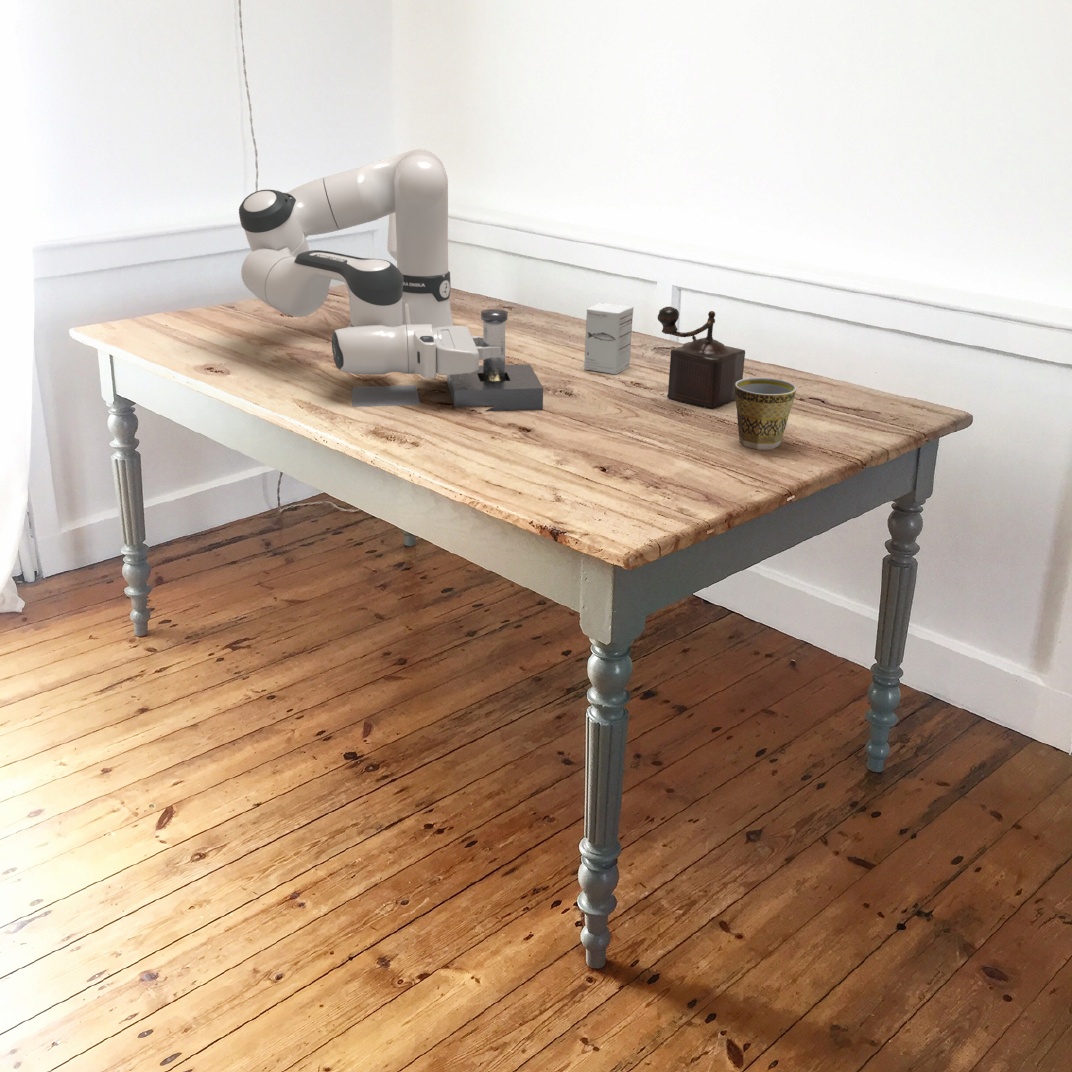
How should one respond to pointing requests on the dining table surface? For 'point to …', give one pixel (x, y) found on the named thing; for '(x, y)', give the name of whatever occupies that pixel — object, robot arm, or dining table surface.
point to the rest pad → (384, 396)
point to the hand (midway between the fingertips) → (498, 347)
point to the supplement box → (608, 338)
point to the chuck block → (498, 390)
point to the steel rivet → (494, 343)
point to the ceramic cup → (763, 411)
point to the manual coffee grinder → (701, 365)
